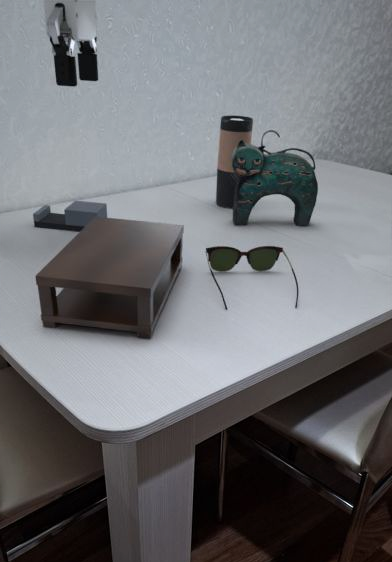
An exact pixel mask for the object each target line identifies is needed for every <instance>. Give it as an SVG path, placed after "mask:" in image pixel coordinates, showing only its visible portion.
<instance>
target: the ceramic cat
mask: <svg viewBox="0 0 392 562" xmlns="http://www.w3.org/2000/svg"><path fill="white" fill-rule="evenodd" d="M268 133H274V134H275V135H277V137H278V138H280V137H281V135H280V133H278V132H277V131H276V130H273V129H269V130H266V131H265V132H263V134H262V136H261V142H260V145H259V146H256V145H254V144H253V143H251V144H247V143H244V142H243V140H241V141H240V142H239V143H238V146H237V147H236V148H235V150H234V152H233V155H232V167H233V170H234V172H235V173H236V174H237V175H238V176H239V177H238V179H237V184H236V189H235V193H234V205H233V208H232V217H231V218H232V219H231V220H232V223H233V224H234V226H247V225H248V224H249V223H248V222H249V218H250V215H251V213H252V210H253V209H254V207H255V205H256V204H257V203H258V202H259V201H260V200H261V199H262V198H265V197H267V196H273V195H281V196H284V197H286V198H288V199H289V200H290V201H291V202H292V203H293V205H294V214H293V220H292V221H293V223H294V224H295V226H298V227H307V226H309V225H310V222H311V219H312V216H313V212H314V210H315V207H316V204H317V198H318V193H319V184H318V180H317V176H316V172H315V171H316V162H315V158H314V156H313V155H312V154H311V153H310V152H309V151H307V150H305V149H303V148H296V147H289V148H286V149H283V150H279V151H275V152H271V151H268V150H266V145H264V144H263V143H264V142H263V140H264V138H265V137H264V136H265V135H266V134H268ZM289 151H297V152H300V153H304V154H306V155H308V156H309V158H310V159H311V161H312V164H313V165H312V164H311V163H310V162H309V161H308V160H307V159H306V158H304V157H302V156H301V155H299V154H295V153H293V152H289Z"/></svg>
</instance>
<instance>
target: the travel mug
mask: <svg viewBox="0 0 392 562" xmlns="http://www.w3.org/2000/svg"><path fill="white" fill-rule="evenodd" d="M253 124H254V119H253V117H249V116H244V115H231V114H229V115H222V116H221V117H220V127H219V139H218V140H219V141H218V153H217V166H216V167H217V169H216V190H215V191H216V192H215V204H216V205H217V206H218V205H219V207H221V206H223V207H222V208H225V207H231V208H230V209H233V208H232V207H233V205H234V193H235V189H236V184H237V179H238V177H239V176H238V175H237V174H236V173H235V172H234V170H233V167H232V155H233V152H234V150H235V148H236V147H237V146H238V143H239V142H240V141H241V140H243V142H244V143H247V144H252V138H253V137H252V136H253V126H254V125H253Z"/></svg>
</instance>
